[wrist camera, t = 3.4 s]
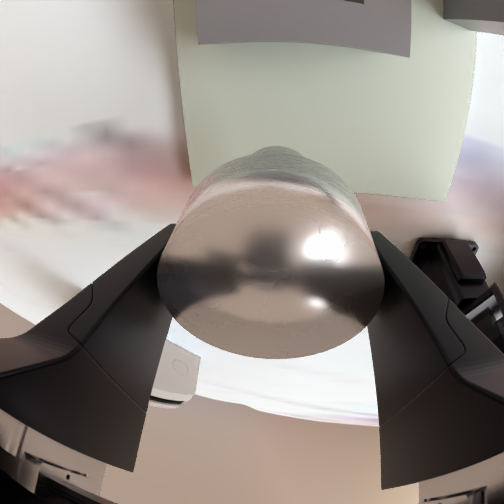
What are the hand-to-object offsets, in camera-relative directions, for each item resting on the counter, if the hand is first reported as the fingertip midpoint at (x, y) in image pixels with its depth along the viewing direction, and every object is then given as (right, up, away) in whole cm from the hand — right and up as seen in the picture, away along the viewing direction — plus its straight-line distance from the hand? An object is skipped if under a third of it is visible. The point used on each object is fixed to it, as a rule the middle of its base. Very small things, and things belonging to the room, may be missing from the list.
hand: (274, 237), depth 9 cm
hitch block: (+4, +13, +1) cm, 14 cm away
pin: (0, +2, +3) cm, 4 cm away
